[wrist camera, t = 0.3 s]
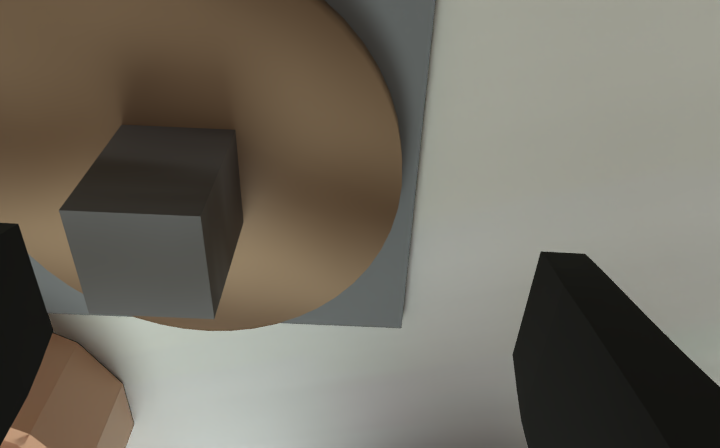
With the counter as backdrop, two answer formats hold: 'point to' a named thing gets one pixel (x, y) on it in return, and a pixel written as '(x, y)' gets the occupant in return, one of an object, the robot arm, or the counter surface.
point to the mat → (408, 91)
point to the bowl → (72, 404)
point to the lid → (196, 154)
